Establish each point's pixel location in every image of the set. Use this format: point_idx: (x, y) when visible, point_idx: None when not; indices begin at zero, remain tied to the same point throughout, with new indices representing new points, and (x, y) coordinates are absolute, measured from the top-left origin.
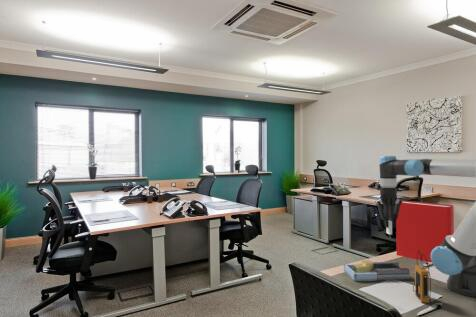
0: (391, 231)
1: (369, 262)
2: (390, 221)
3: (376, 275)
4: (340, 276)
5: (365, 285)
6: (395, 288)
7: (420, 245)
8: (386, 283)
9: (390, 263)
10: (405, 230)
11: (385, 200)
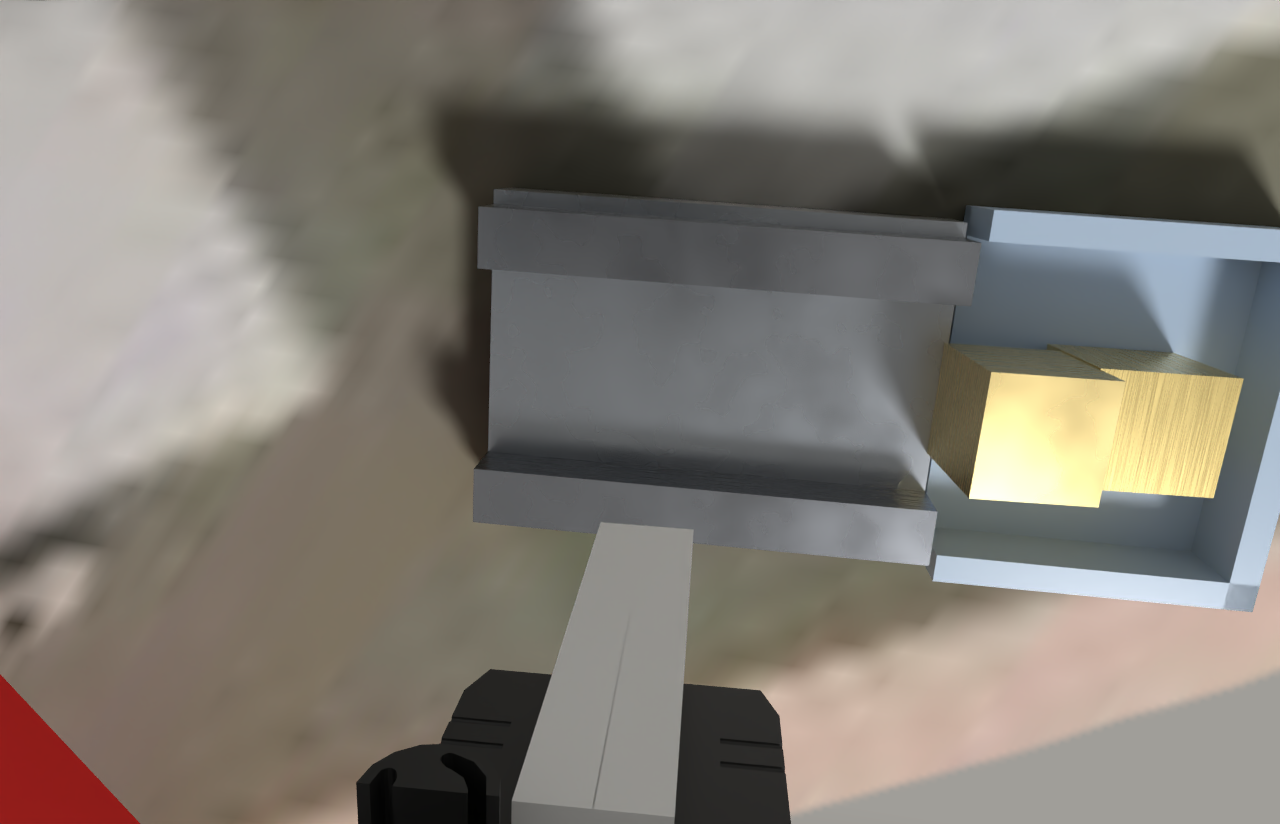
0: (611, 564)
1: (1037, 399)
2: (592, 807)
3: (995, 209)
4: None
5: (1229, 75)
6: None
7: None
8: (901, 100)
9: (599, 480)
10: None
11: None
